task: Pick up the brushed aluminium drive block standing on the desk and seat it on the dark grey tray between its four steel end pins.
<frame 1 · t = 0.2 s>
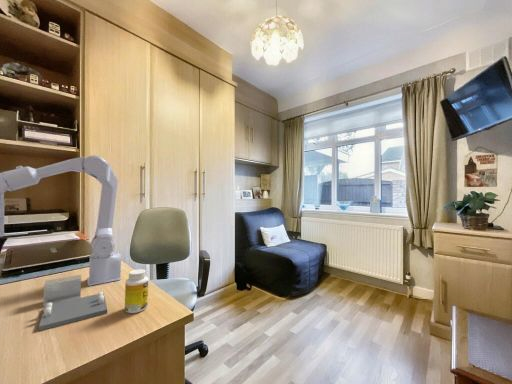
drive: (63, 300, 65), on the table
pin tray: (75, 311, 59), on the table
supplement bottle: (136, 309, 61), on the table
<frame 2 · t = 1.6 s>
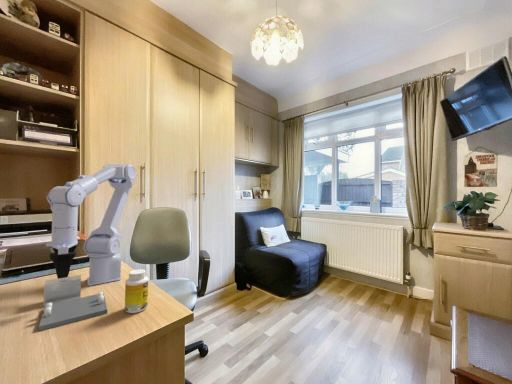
hand: (63, 273, 65), 8 cm above the table, tool pointing down, fingers open, 7 cm apart
nothing on the table moved.
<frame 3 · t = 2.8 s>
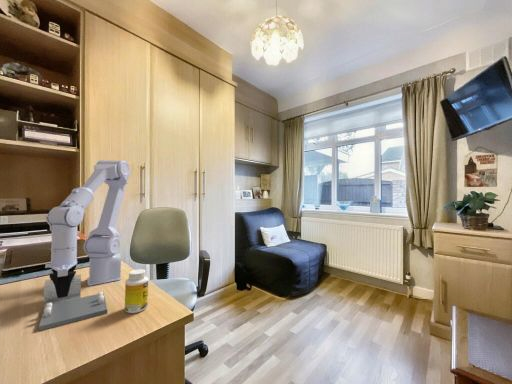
hand: (63, 293, 65), 2 cm above the table, tool pointing down, fingers closed on drive, 4 cm apart
drive: (63, 299, 65), on the table, touching gripper
everything else where it was.
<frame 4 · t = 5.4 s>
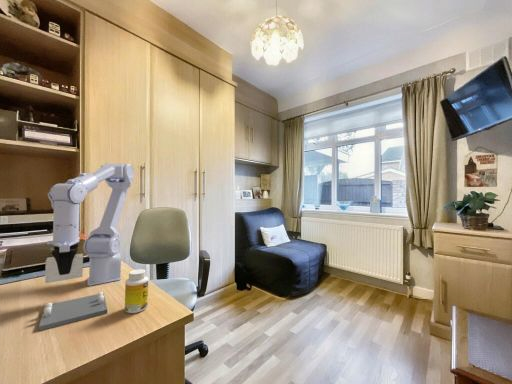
hand: (65, 271, 65), 8 cm above the table, tool pointing down, fingers closed on drive, 4 cm apart
drive: (64, 277, 65), point 7 cm above the table, touching gripper
everything else where it was.
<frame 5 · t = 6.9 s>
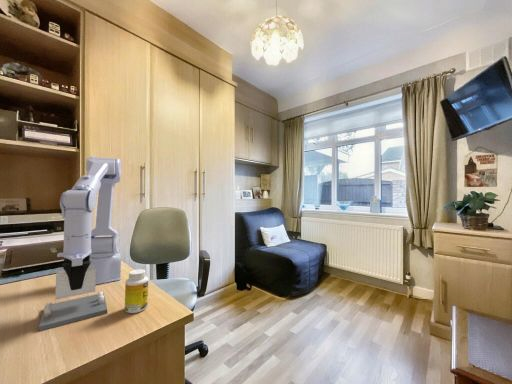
hand: (76, 286, 59), 7 cm above the table, tool pointing down, fingers closed on drive, 4 cm apart
drive: (76, 292, 59), point 5 cm above the table, touching gripper
everything else where it was.
when the fingers open (4 cm above the table, at t = 7.8 s): drive drops 1 cm, resting on pin tray.
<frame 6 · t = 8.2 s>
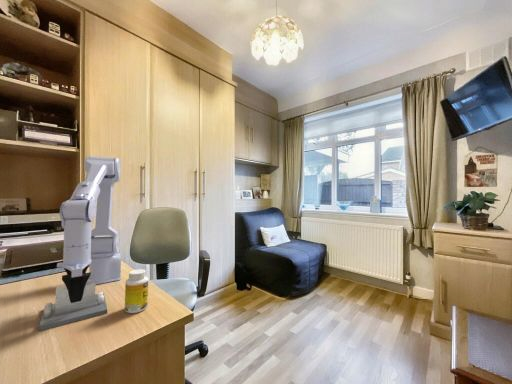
hand: (76, 295, 59), 4 cm above the table, tool pointing down, fingers open, 7 cm apart
drive: (75, 307, 59), point 1 cm above the table, touching pin tray
everything else where it was.
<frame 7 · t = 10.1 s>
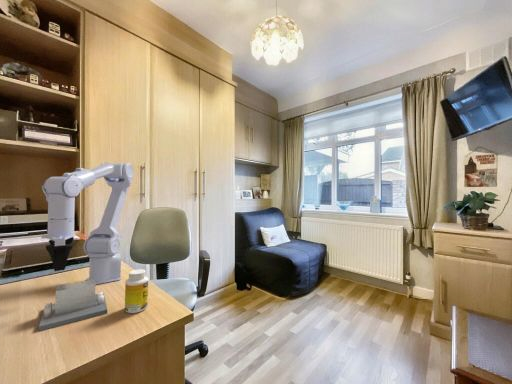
hand: (60, 266, 64), 10 cm above the table, tool pointing down, fingers open, 7 cm apart
nothing on the table moved.
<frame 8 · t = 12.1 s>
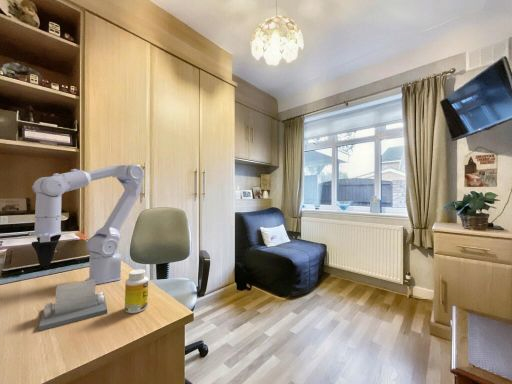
hand: (46, 262, 67), 10 cm above the table, tool pointing down, fingers open, 7 cm apart
nothing on the table moved.
at the end: drive 0.0 cm off-centre on the pin tray, point 1.0 cm above the pin tray's base; drive tilted 0°; the gripper is holding nothing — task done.
